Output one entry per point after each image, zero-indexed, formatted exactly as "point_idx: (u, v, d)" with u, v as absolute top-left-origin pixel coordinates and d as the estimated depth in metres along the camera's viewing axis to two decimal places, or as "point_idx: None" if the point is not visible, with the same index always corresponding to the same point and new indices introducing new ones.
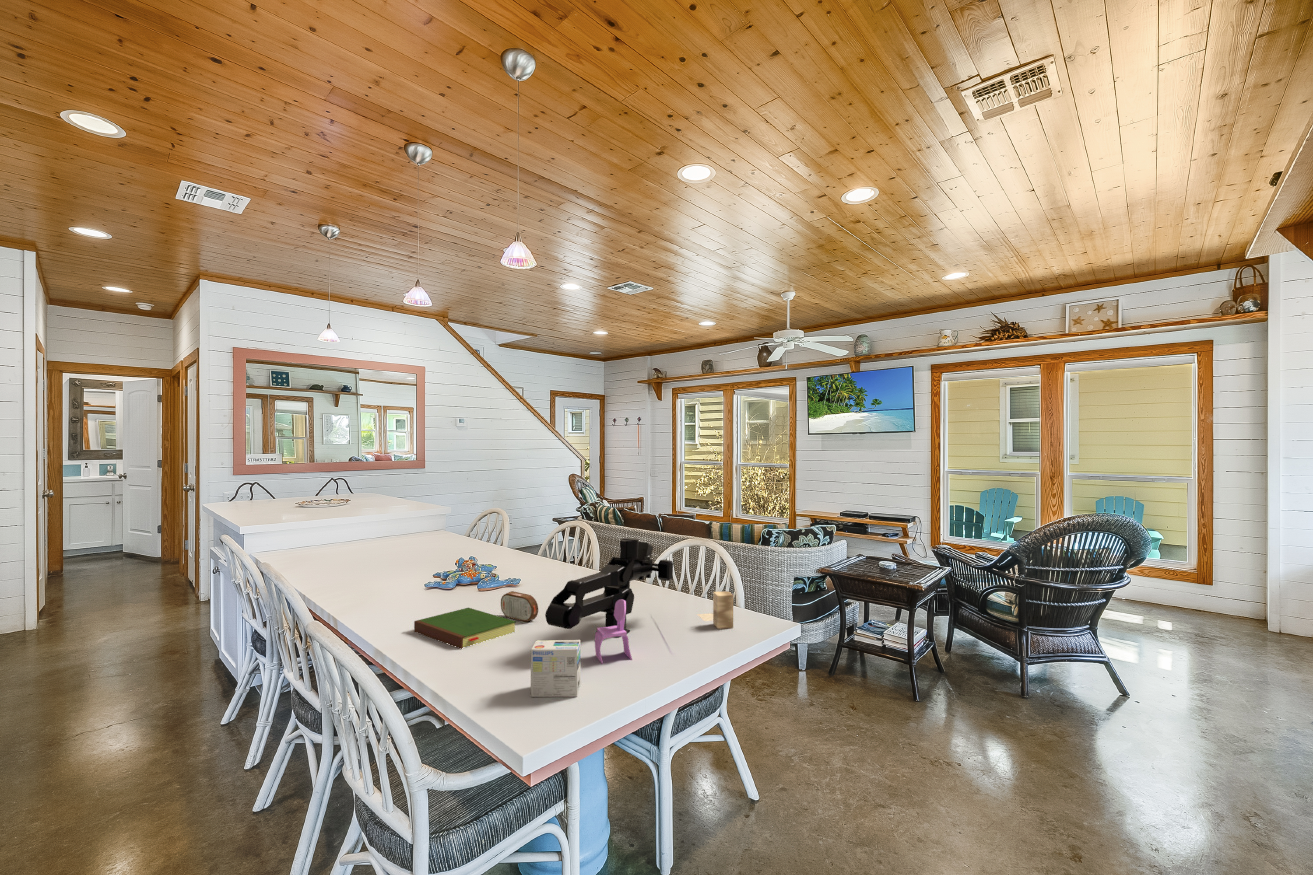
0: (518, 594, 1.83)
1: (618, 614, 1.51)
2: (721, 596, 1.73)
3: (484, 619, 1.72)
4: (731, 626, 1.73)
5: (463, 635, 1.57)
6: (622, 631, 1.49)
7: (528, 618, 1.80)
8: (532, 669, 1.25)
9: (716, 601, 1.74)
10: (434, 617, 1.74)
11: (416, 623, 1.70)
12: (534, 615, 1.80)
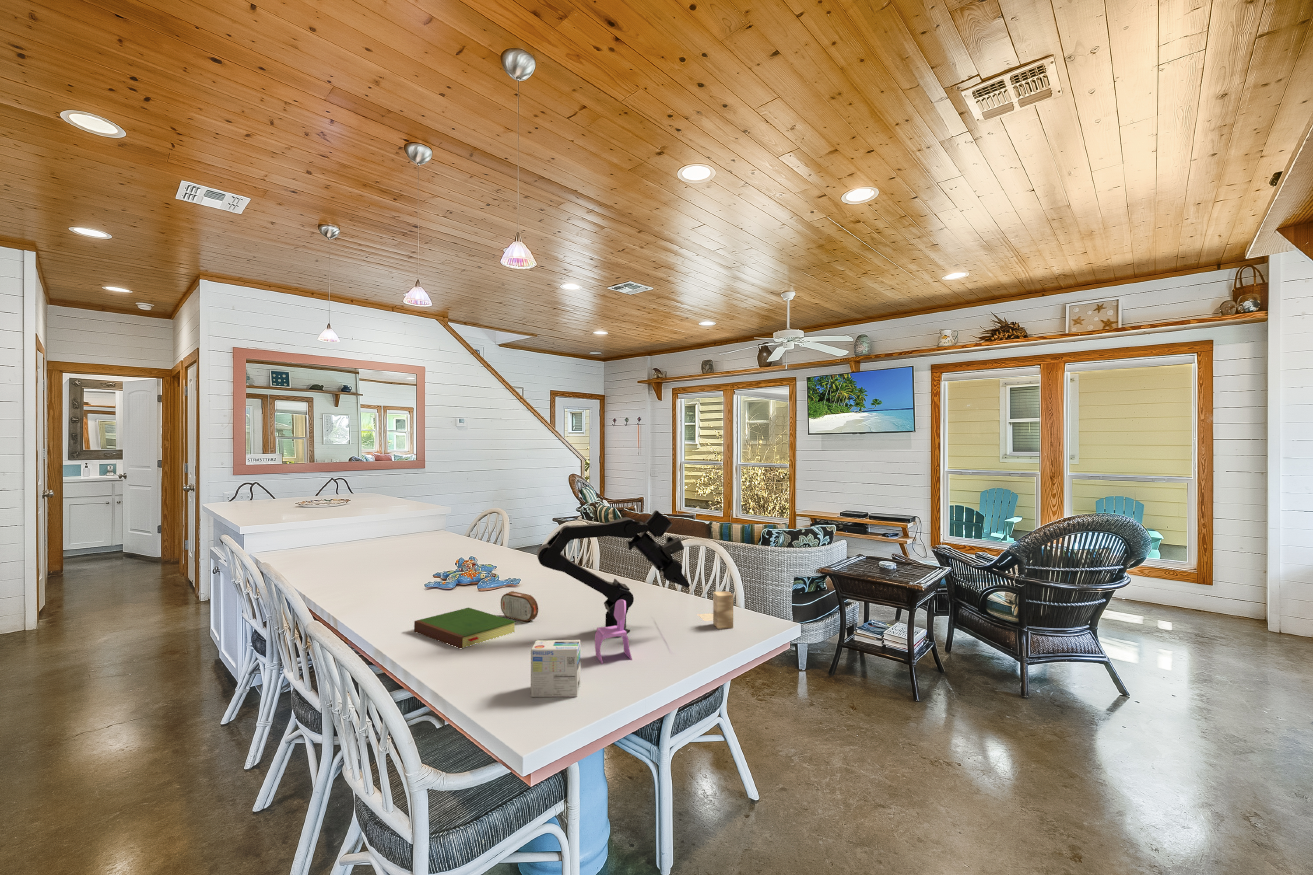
0: (518, 594, 1.83)
1: (618, 614, 1.51)
2: (721, 596, 1.73)
3: (484, 619, 1.72)
4: (731, 626, 1.73)
5: (463, 635, 1.57)
6: (622, 631, 1.49)
7: (528, 618, 1.80)
8: (532, 669, 1.26)
9: (716, 601, 1.74)
10: (434, 617, 1.74)
11: (416, 623, 1.70)
12: (534, 615, 1.80)
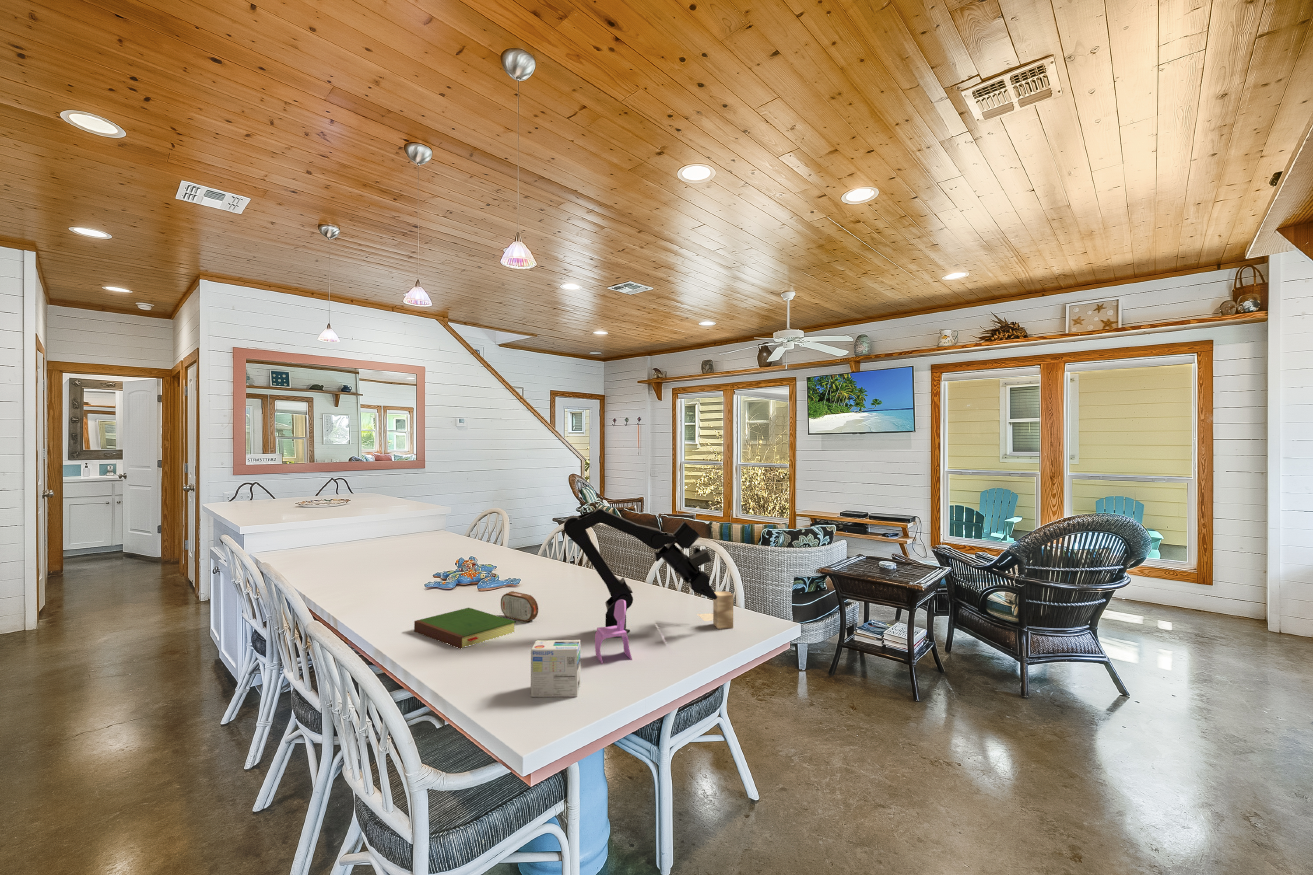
0: (518, 594, 1.83)
1: (618, 614, 1.51)
2: (721, 596, 1.73)
3: (484, 619, 1.72)
4: (731, 626, 1.73)
5: (462, 635, 1.57)
6: (622, 631, 1.49)
7: (528, 618, 1.80)
8: (532, 669, 1.26)
9: (716, 601, 1.74)
10: (434, 617, 1.74)
11: (416, 623, 1.70)
12: (534, 615, 1.80)
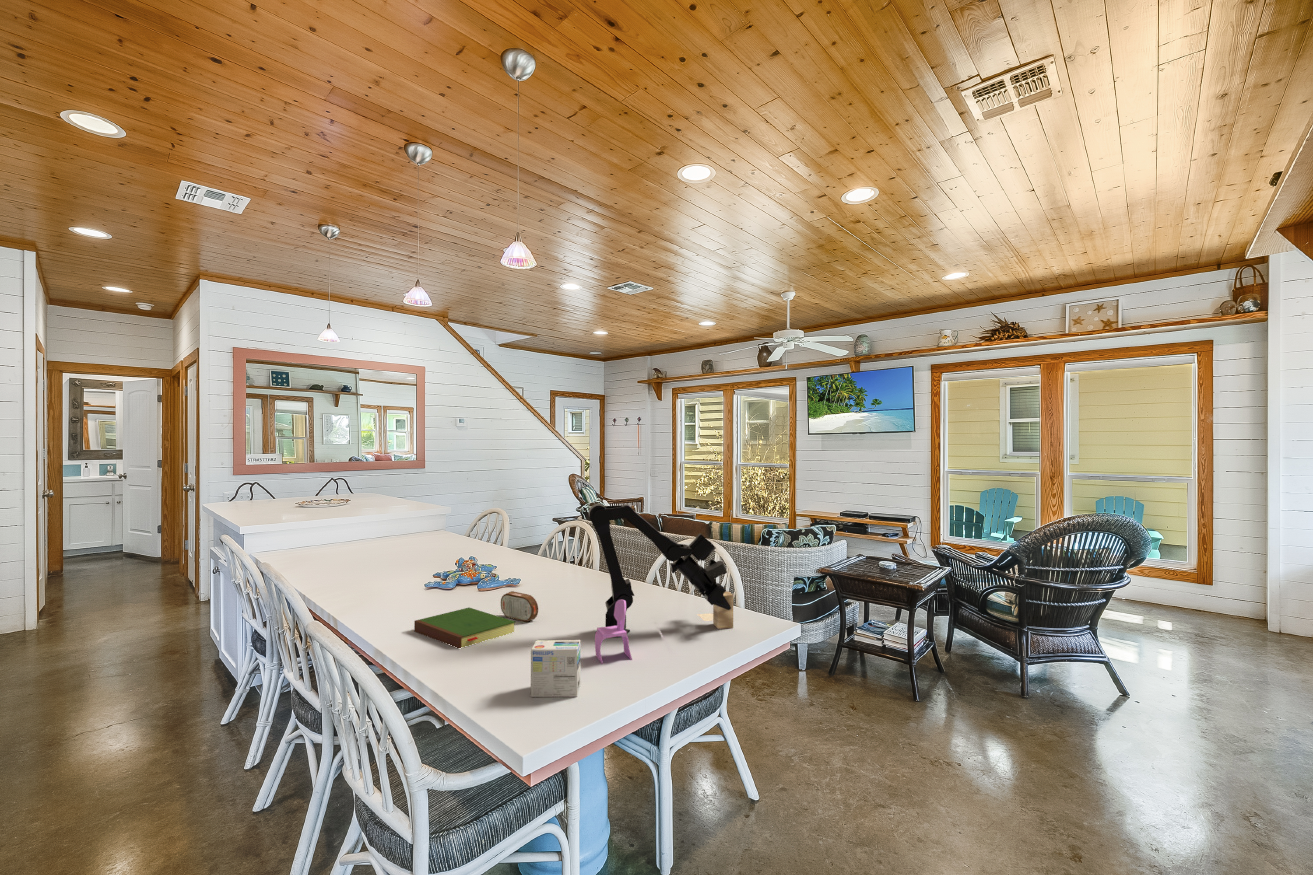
0: (518, 594, 1.83)
1: (618, 614, 1.51)
2: None
3: (484, 619, 1.72)
4: (731, 626, 1.73)
5: (462, 635, 1.57)
6: (622, 631, 1.49)
7: (528, 618, 1.80)
8: (532, 669, 1.25)
9: None
10: (434, 617, 1.74)
11: (416, 623, 1.70)
12: (534, 615, 1.80)
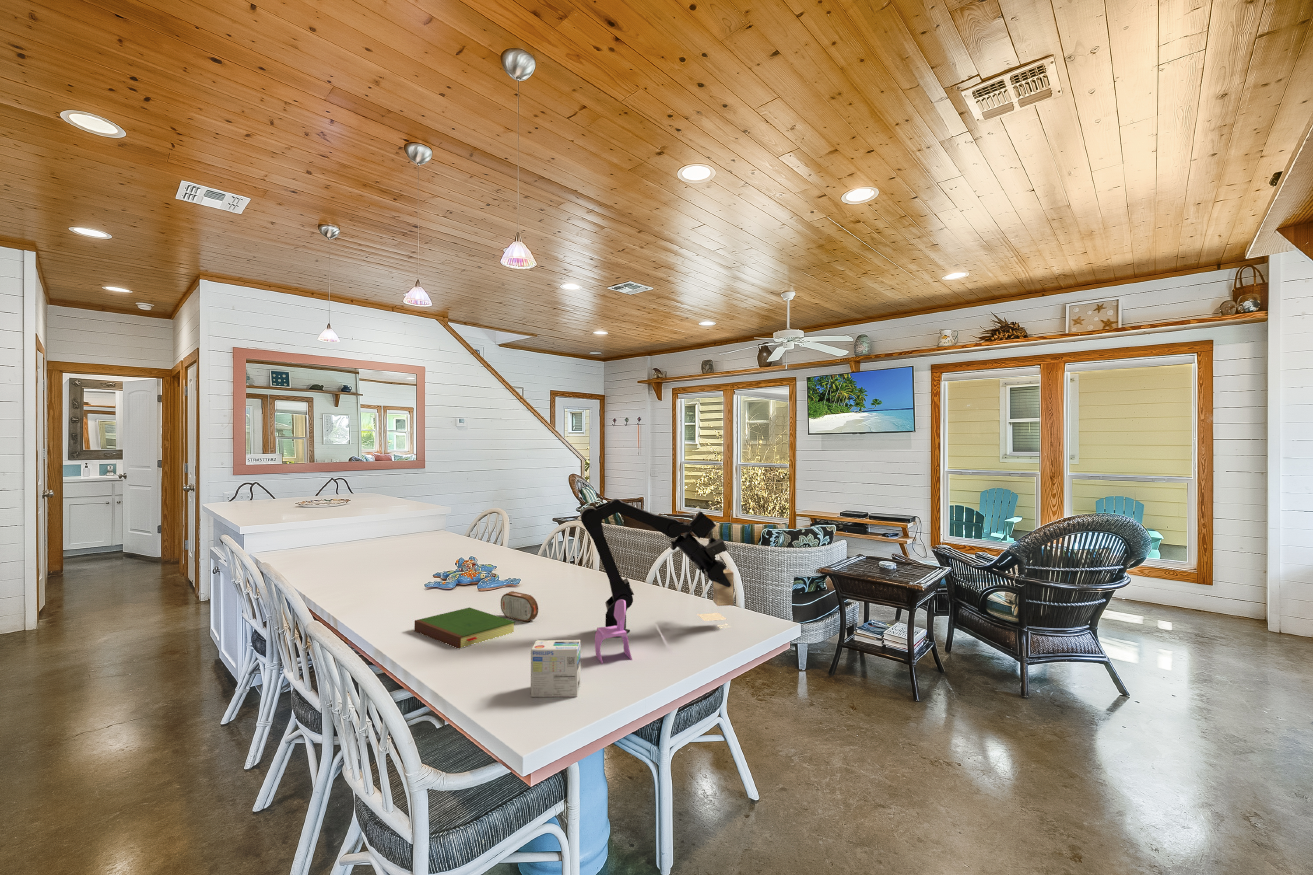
0: (518, 594, 1.83)
1: (618, 614, 1.51)
2: None
3: (484, 619, 1.72)
4: (731, 603, 1.73)
5: (461, 635, 1.57)
6: (622, 631, 1.49)
7: (528, 618, 1.80)
8: (532, 669, 1.25)
9: None
10: (434, 617, 1.75)
11: (416, 622, 1.70)
12: (534, 615, 1.80)
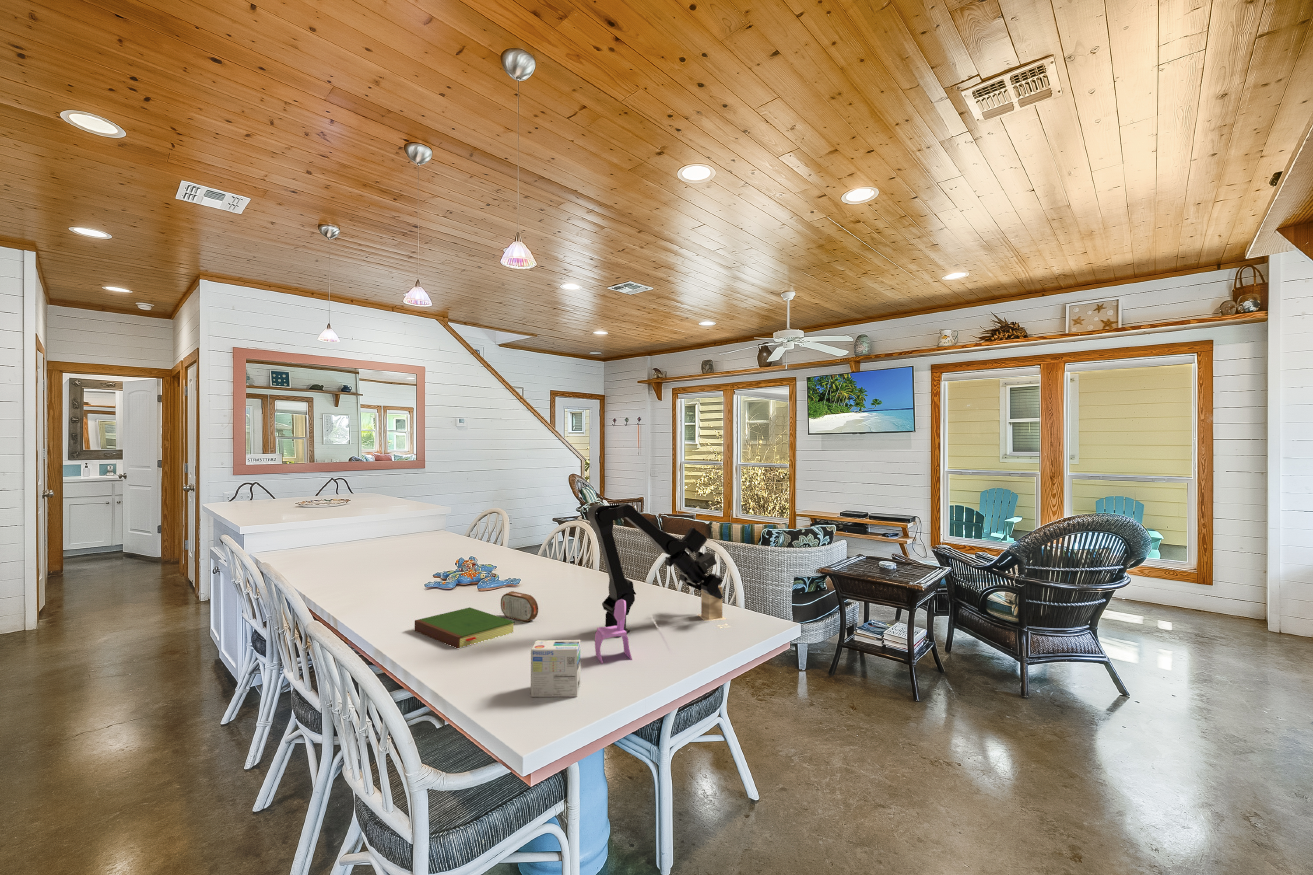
0: (518, 594, 1.83)
1: (618, 614, 1.51)
2: None
3: (483, 619, 1.72)
4: (720, 616, 1.84)
5: (460, 635, 1.57)
6: (622, 631, 1.49)
7: (528, 618, 1.80)
8: (532, 669, 1.25)
9: (707, 594, 1.83)
10: (434, 617, 1.75)
11: (416, 622, 1.70)
12: (534, 615, 1.80)
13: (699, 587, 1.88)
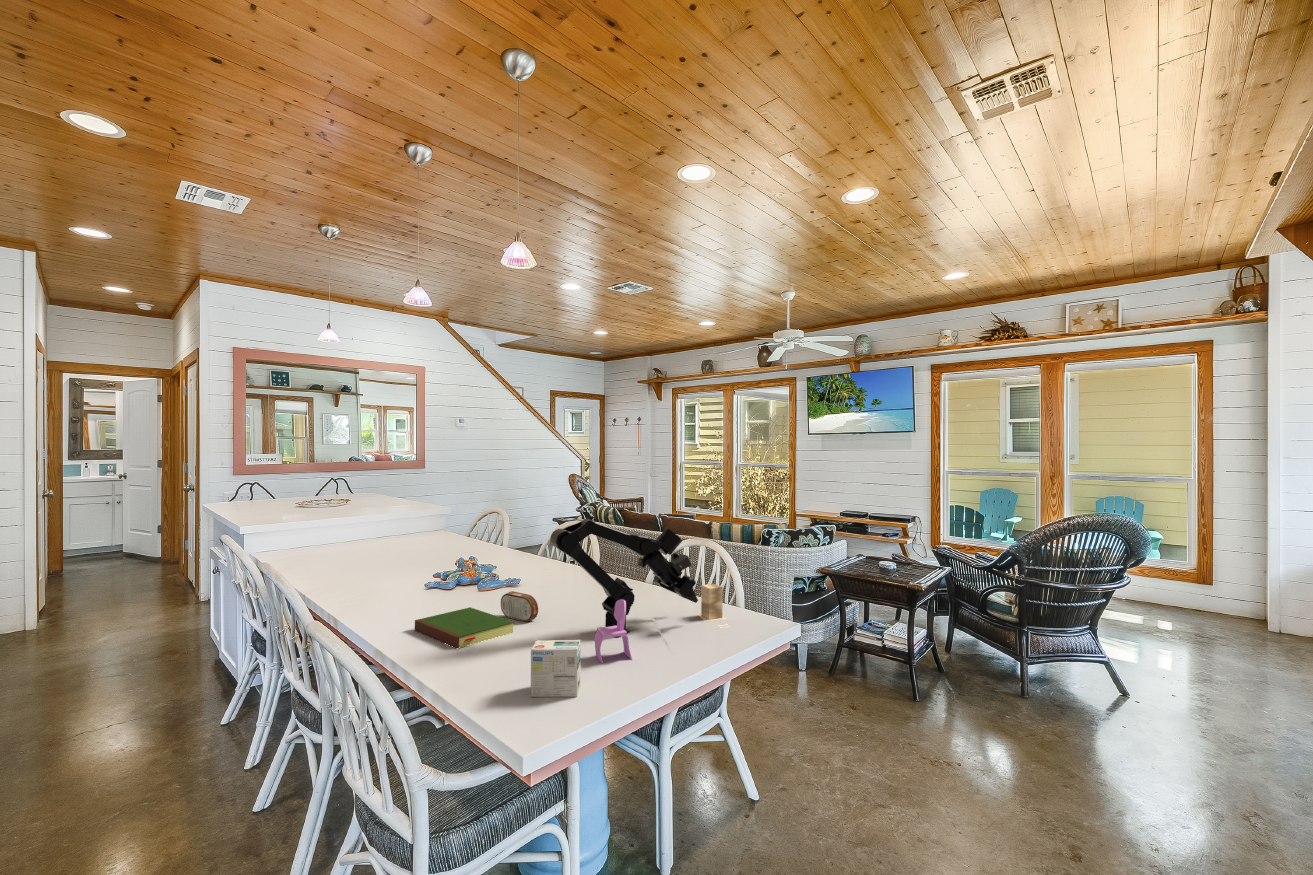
0: (518, 594, 1.83)
1: (618, 614, 1.51)
2: (712, 588, 1.83)
3: (483, 619, 1.72)
4: (720, 616, 1.84)
5: (460, 635, 1.57)
6: (622, 631, 1.49)
7: (528, 618, 1.80)
8: (532, 669, 1.25)
9: (707, 594, 1.83)
10: (435, 616, 1.75)
11: (416, 622, 1.71)
12: (534, 615, 1.80)
13: (672, 589, 1.84)
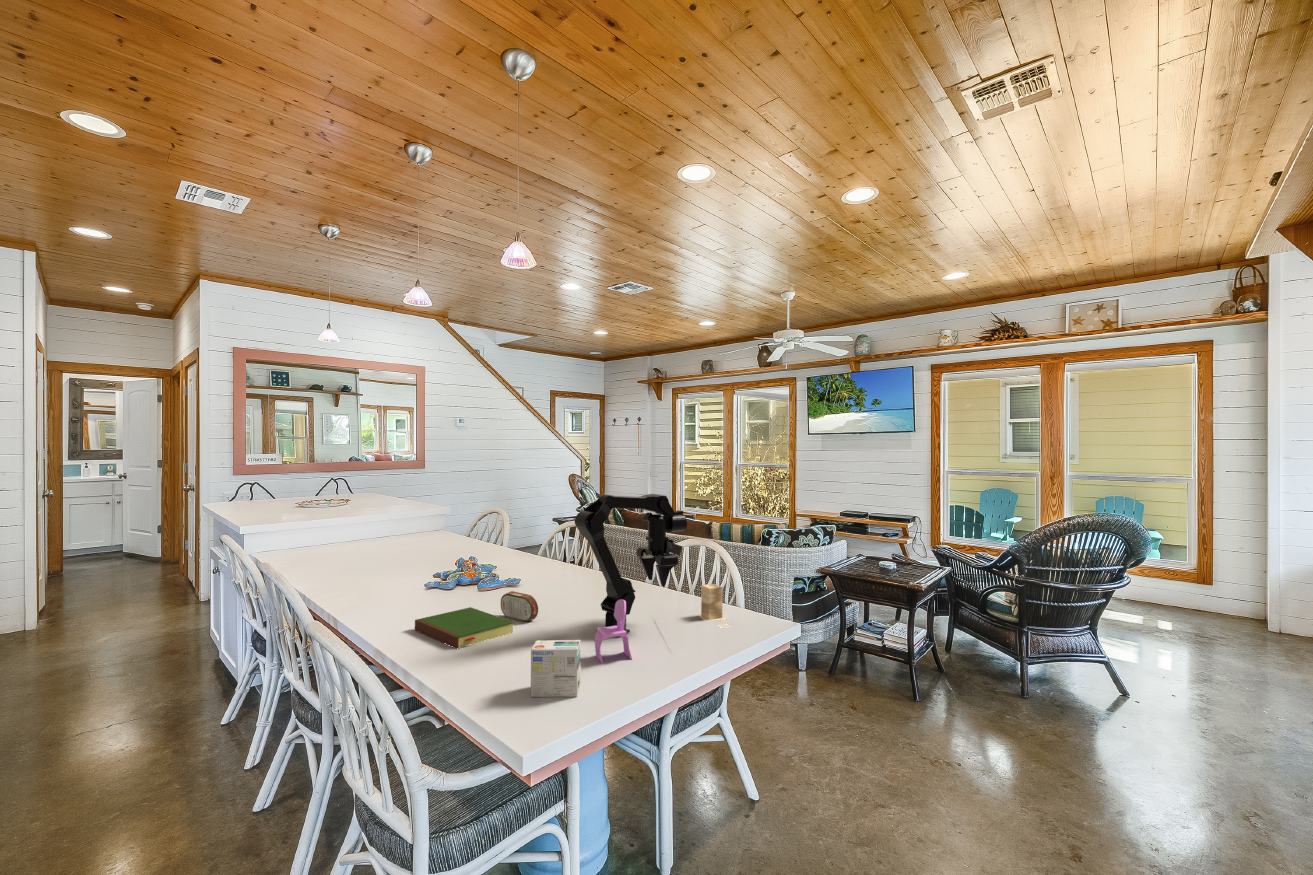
0: (518, 594, 1.83)
1: (618, 614, 1.51)
2: (712, 588, 1.83)
3: (483, 619, 1.72)
4: (720, 616, 1.84)
5: (459, 635, 1.57)
6: (622, 631, 1.49)
7: (528, 618, 1.80)
8: (532, 669, 1.26)
9: (707, 594, 1.83)
10: (435, 616, 1.75)
11: (416, 622, 1.71)
12: (534, 615, 1.80)
13: (647, 567, 1.83)
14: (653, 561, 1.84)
